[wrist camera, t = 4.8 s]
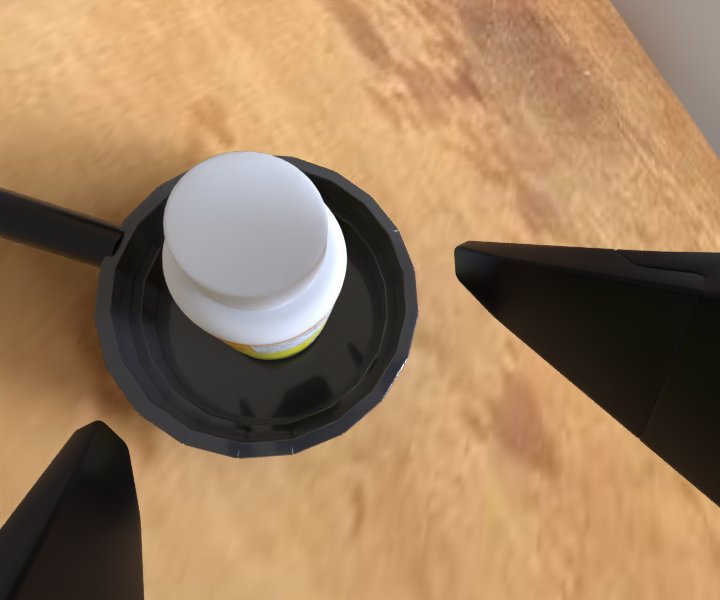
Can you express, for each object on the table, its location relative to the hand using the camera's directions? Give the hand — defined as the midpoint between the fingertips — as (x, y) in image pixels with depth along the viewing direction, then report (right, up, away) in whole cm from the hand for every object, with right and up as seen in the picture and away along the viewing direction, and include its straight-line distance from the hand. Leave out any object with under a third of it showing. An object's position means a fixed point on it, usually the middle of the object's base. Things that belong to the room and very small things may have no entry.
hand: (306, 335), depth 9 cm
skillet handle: (-14, +4, +7) cm, 16 cm away
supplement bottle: (-3, 0, +10) cm, 11 cm away
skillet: (-3, 0, +10) cm, 11 cm away
